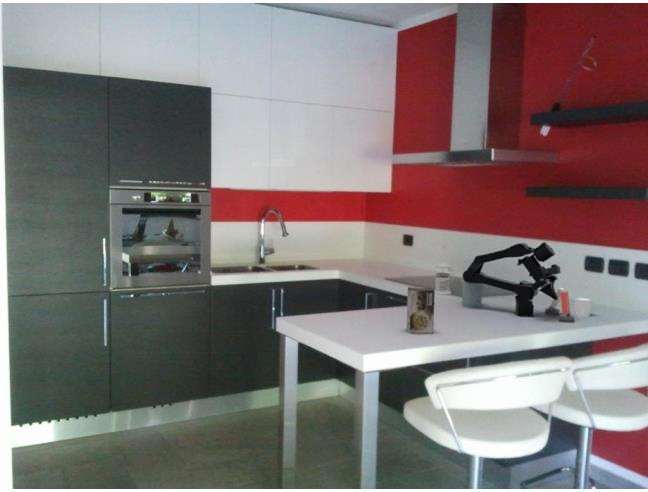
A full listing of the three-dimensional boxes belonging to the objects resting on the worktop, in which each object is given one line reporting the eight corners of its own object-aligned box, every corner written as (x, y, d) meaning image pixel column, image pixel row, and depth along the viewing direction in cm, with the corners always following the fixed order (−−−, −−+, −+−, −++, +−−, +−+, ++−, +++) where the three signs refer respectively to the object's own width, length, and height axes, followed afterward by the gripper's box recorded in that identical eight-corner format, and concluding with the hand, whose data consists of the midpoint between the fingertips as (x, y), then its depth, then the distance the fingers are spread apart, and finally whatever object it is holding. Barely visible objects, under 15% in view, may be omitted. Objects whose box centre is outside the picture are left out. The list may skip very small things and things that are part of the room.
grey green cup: (487, 306, 276) (488, 280, 275) (468, 307, 272) (469, 281, 271) (473, 302, 285) (475, 277, 284) (455, 303, 281) (456, 278, 280)
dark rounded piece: (556, 321, 247) (557, 312, 247) (560, 318, 252) (561, 310, 252) (571, 323, 244) (572, 314, 243) (575, 320, 249) (576, 312, 248)
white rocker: (549, 308, 261) (558, 288, 258) (552, 306, 264) (561, 287, 262) (553, 310, 260) (562, 290, 257) (556, 308, 263) (565, 289, 261)
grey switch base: (543, 313, 262) (543, 305, 261) (547, 311, 267) (547, 303, 266) (557, 315, 258) (557, 307, 258) (561, 313, 263) (561, 305, 263)
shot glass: (570, 313, 264) (571, 298, 263) (582, 313, 266) (583, 297, 265) (582, 316, 257) (583, 300, 257) (594, 316, 260) (595, 300, 259)
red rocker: (561, 316, 247) (559, 292, 246) (564, 314, 250) (562, 291, 250) (567, 316, 245) (565, 292, 245) (570, 314, 249) (568, 291, 249)
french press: (428, 291, 315) (430, 243, 313) (446, 290, 320) (448, 243, 318) (439, 294, 306) (442, 245, 304) (458, 293, 311) (460, 245, 309)
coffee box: (429, 329, 226) (431, 287, 225) (433, 333, 220) (435, 290, 218) (405, 329, 226) (407, 286, 225) (408, 333, 220) (410, 289, 218)
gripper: (543, 259, 242) (567, 291, 238) (556, 256, 258) (579, 286, 253) (521, 274, 248) (544, 306, 243) (535, 270, 263) (556, 300, 259)
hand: (557, 299), depth 249 cm, fingers closed
